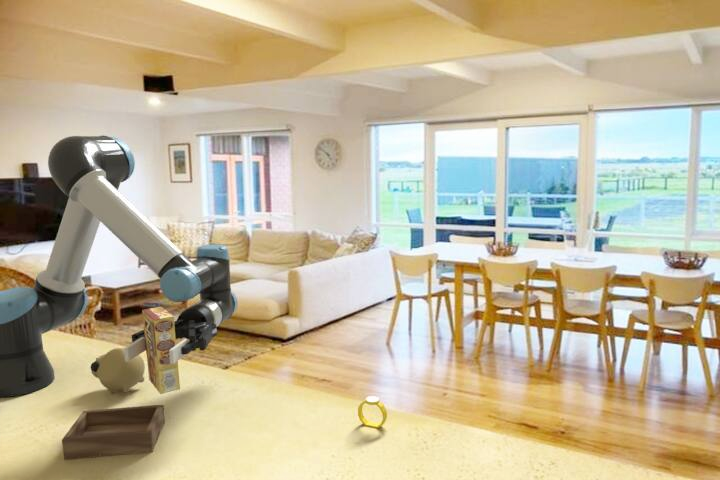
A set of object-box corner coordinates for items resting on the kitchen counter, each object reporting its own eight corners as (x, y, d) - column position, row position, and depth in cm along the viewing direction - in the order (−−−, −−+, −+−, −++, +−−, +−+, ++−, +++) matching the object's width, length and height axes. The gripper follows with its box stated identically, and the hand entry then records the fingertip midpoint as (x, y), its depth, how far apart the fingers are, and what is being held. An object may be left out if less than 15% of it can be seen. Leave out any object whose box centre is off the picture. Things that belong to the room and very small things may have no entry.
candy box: (181, 389, 116) (175, 315, 113) (159, 395, 113) (153, 319, 111) (167, 375, 123) (162, 305, 120) (147, 380, 120) (141, 309, 118)
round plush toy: (115, 379, 146) (111, 338, 144) (154, 384, 142) (151, 343, 140) (85, 395, 137) (80, 352, 135) (126, 401, 133) (122, 357, 131)
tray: (85, 428, 121) (83, 410, 120) (164, 422, 123) (163, 404, 122) (64, 459, 109) (61, 439, 108) (152, 451, 111) (150, 432, 110)
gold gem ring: (387, 426, 119) (389, 399, 118) (382, 432, 117) (383, 405, 116) (361, 419, 122) (362, 392, 121) (355, 425, 119) (356, 398, 118)
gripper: (244, 337, 133) (202, 377, 111) (157, 333, 136) (99, 371, 115) (242, 305, 132) (199, 339, 110) (155, 303, 135) (96, 335, 113)
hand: (148, 355), depth 112 cm, fingers closed on candy box, 9 cm apart
